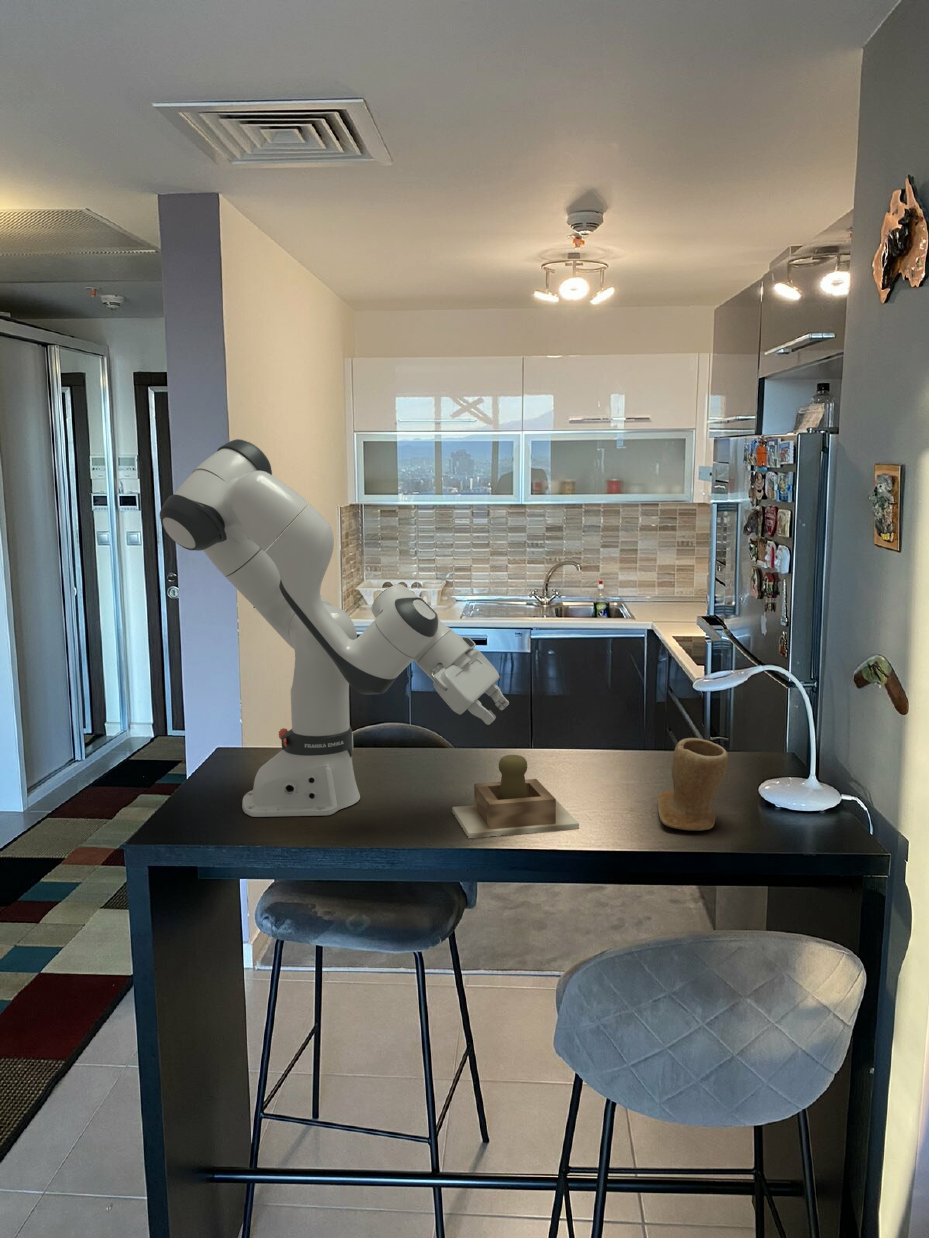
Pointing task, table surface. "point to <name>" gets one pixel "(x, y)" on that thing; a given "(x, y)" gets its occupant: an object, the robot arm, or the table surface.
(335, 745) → the robot arm
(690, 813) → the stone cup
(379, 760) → the table surface
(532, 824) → the cruet stand
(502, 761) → the cork
